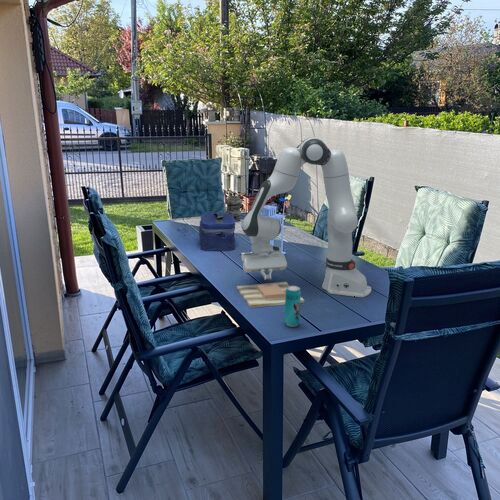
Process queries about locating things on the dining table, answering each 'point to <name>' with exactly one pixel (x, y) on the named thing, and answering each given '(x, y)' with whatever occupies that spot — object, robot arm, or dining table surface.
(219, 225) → the lunch bag
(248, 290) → the board
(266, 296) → the tile
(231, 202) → the apothecary jar
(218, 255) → the dining table surface
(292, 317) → the beverage can
